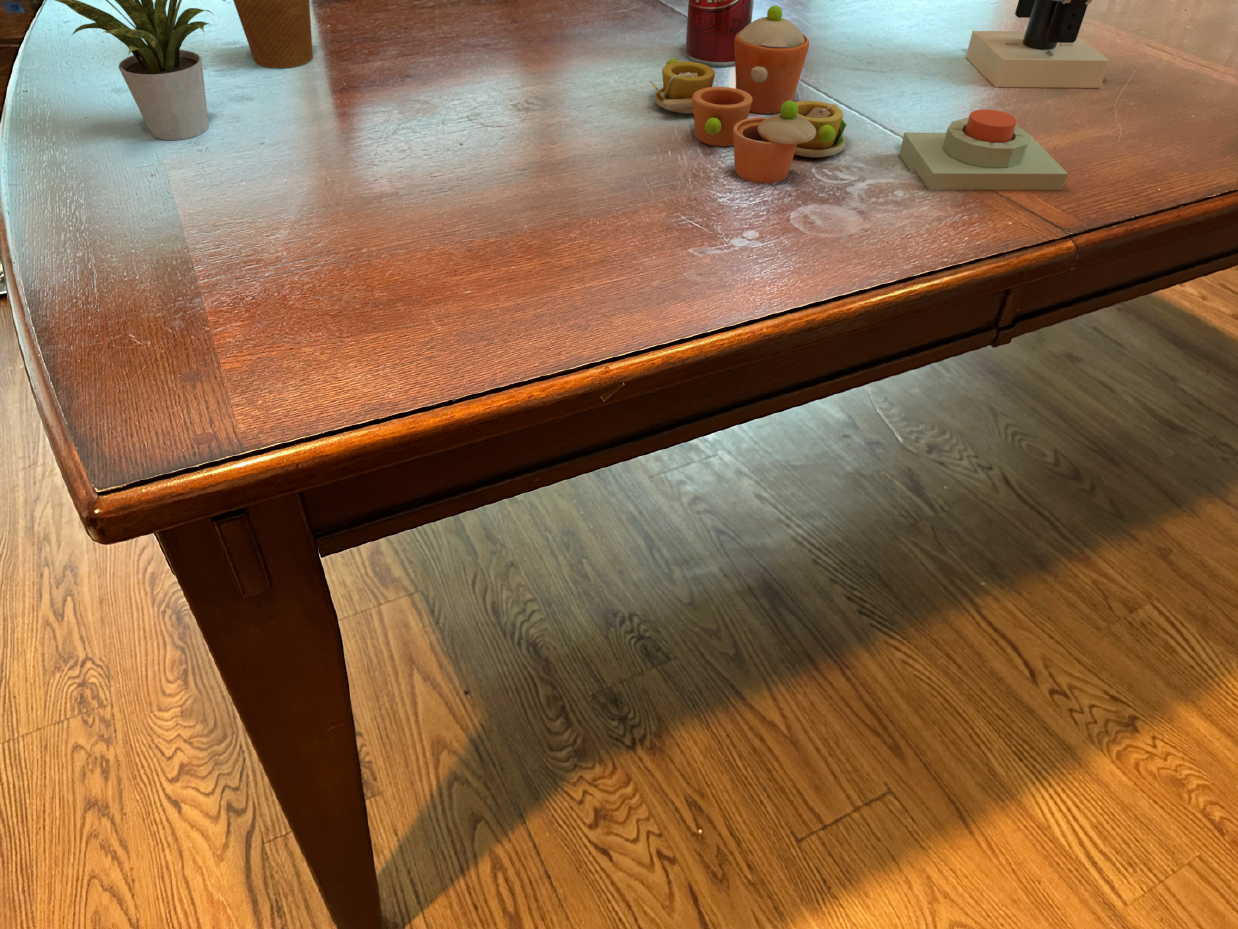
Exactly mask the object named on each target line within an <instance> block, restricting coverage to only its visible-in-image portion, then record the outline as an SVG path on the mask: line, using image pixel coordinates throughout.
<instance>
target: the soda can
mask: <svg viewBox="0 0 1238 929" xmlns="http://www.w3.org/2000/svg"><path fill="white" fill-rule="evenodd" d="M754 2H755V0H688V3H687V4H688V5H687V6H688V7H687V20H686V33H685V34H686V35H685V48H684V50H685V54H686V55H687V58H689V59H690V60H691V62H696V63H701V64H704V65H707V66H709V67H731V66H735V48H734V41H735V36H736V34H737V33H738V32H740V31H742V30H743V29H744V28H745V27H746V26H747V25H749V24H750V23H751V22H753V14H754V12H753V11H754Z"/></svg>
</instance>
